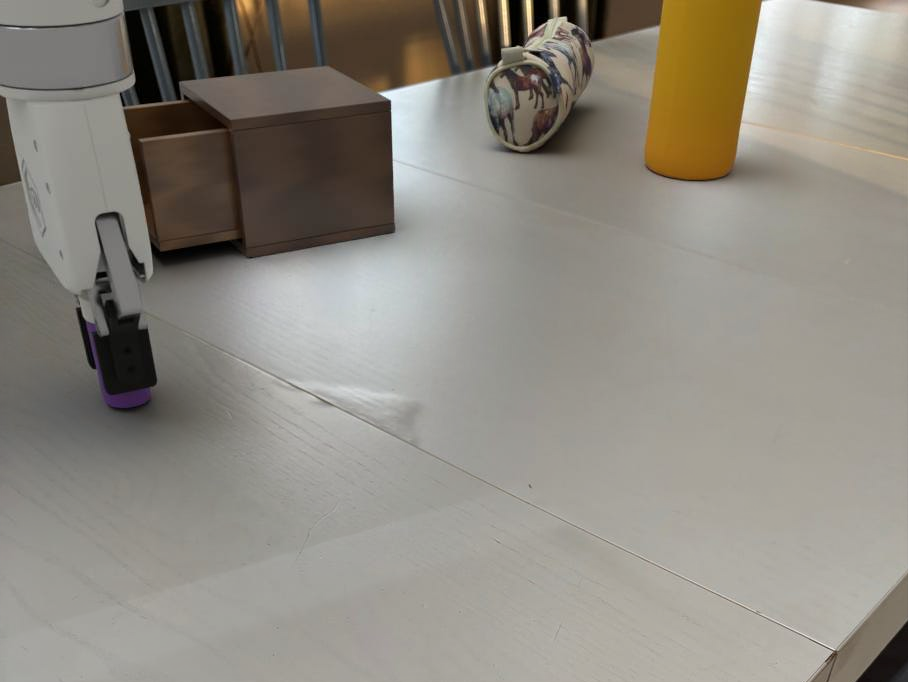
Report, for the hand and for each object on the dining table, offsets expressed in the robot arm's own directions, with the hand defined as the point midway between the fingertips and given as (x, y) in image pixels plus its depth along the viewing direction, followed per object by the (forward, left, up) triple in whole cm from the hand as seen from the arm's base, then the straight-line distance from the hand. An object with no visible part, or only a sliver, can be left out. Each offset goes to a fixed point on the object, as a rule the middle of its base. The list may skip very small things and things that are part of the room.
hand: (122, 373), depth 67 cm
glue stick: (0, 0, -2) cm, 2 cm away
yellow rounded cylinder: (+64, +23, -2) cm, 68 cm away
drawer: (+10, +26, -1) cm, 28 cm away
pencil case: (+58, +42, -2) cm, 72 cm away
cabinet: (+22, +26, -2) cm, 34 cm away
